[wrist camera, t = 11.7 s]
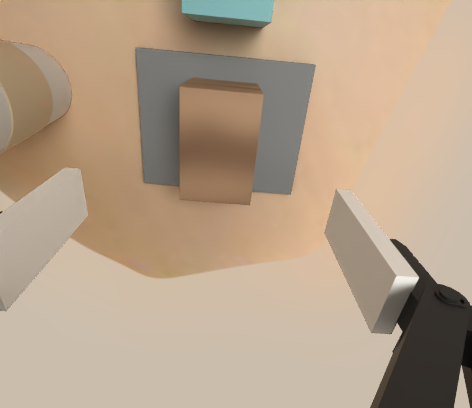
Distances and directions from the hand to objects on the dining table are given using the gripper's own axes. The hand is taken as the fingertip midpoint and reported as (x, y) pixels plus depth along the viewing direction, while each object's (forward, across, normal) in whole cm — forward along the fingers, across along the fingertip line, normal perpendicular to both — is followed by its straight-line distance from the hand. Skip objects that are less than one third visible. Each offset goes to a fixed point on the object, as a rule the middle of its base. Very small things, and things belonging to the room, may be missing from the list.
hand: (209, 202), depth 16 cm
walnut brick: (+16, 0, 0) cm, 16 cm away
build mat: (+16, 0, 0) cm, 16 cm away
